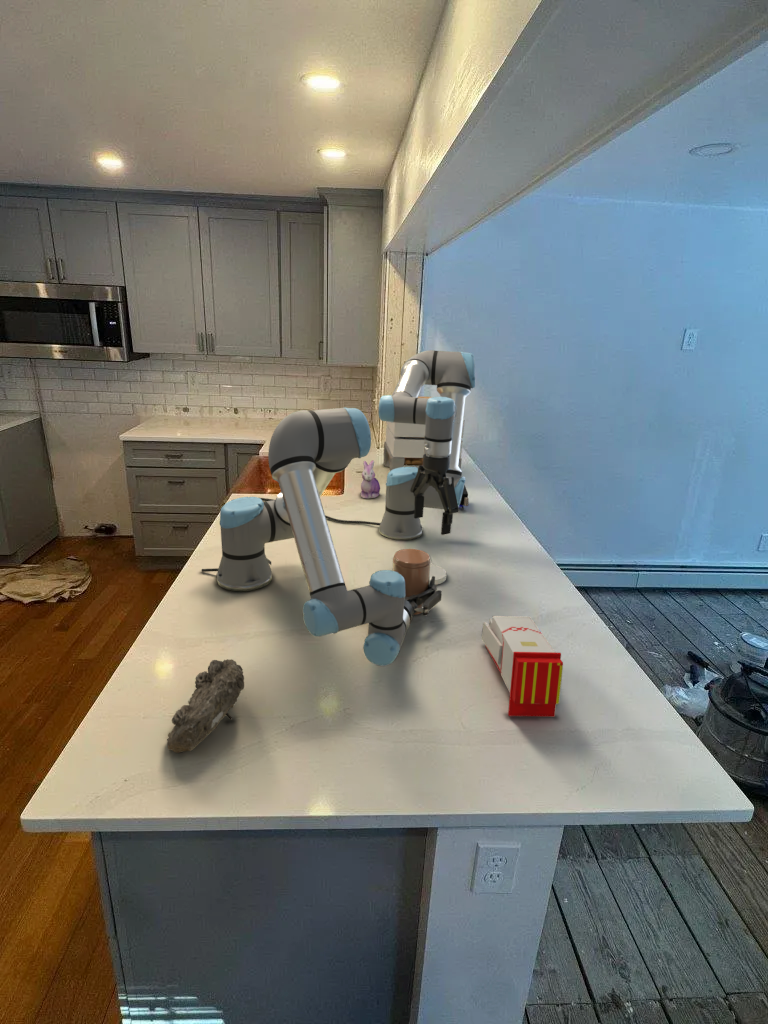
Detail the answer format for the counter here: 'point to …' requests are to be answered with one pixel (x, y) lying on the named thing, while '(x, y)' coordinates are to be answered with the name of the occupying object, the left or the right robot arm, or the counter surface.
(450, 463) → the right robot arm
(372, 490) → the figurine
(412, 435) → the white wooden crate
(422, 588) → the jar
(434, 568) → the lid
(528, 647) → the toy
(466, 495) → the figurine character
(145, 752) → the counter surface
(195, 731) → the fossil
